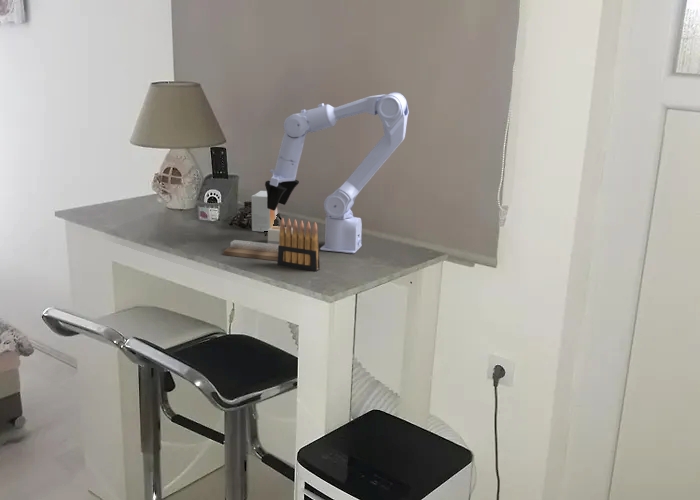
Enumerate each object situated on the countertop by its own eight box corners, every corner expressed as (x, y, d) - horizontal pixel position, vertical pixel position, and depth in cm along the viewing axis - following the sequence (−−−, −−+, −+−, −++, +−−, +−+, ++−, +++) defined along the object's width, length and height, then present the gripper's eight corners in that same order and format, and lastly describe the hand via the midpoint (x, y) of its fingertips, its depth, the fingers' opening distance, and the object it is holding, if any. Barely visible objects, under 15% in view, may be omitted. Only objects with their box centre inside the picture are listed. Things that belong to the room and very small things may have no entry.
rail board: (305, 252, 181) (305, 248, 181) (293, 262, 173) (293, 258, 173) (238, 245, 186) (238, 241, 186) (223, 254, 178) (223, 251, 177)
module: (294, 242, 190) (294, 227, 189) (288, 246, 186) (288, 231, 185) (273, 240, 192) (273, 225, 191) (267, 244, 188) (267, 229, 187)
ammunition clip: (277, 265, 171) (277, 217, 167) (281, 263, 172) (280, 216, 169) (316, 271, 167) (316, 223, 163) (319, 269, 168) (320, 221, 165)
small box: (270, 232, 199) (269, 196, 196) (251, 231, 200) (250, 195, 197) (278, 226, 207) (278, 191, 204) (260, 224, 208) (260, 190, 205)
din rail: (299, 252, 178) (299, 246, 178) (295, 254, 176) (295, 249, 175) (234, 245, 183) (234, 239, 182) (230, 247, 180) (230, 242, 180)
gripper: (284, 150, 190) (272, 196, 194) (264, 157, 176) (252, 206, 181) (308, 158, 188) (295, 204, 193) (289, 166, 175) (276, 215, 179)
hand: (276, 206), depth 187 cm, fingers open, 7 cm apart
